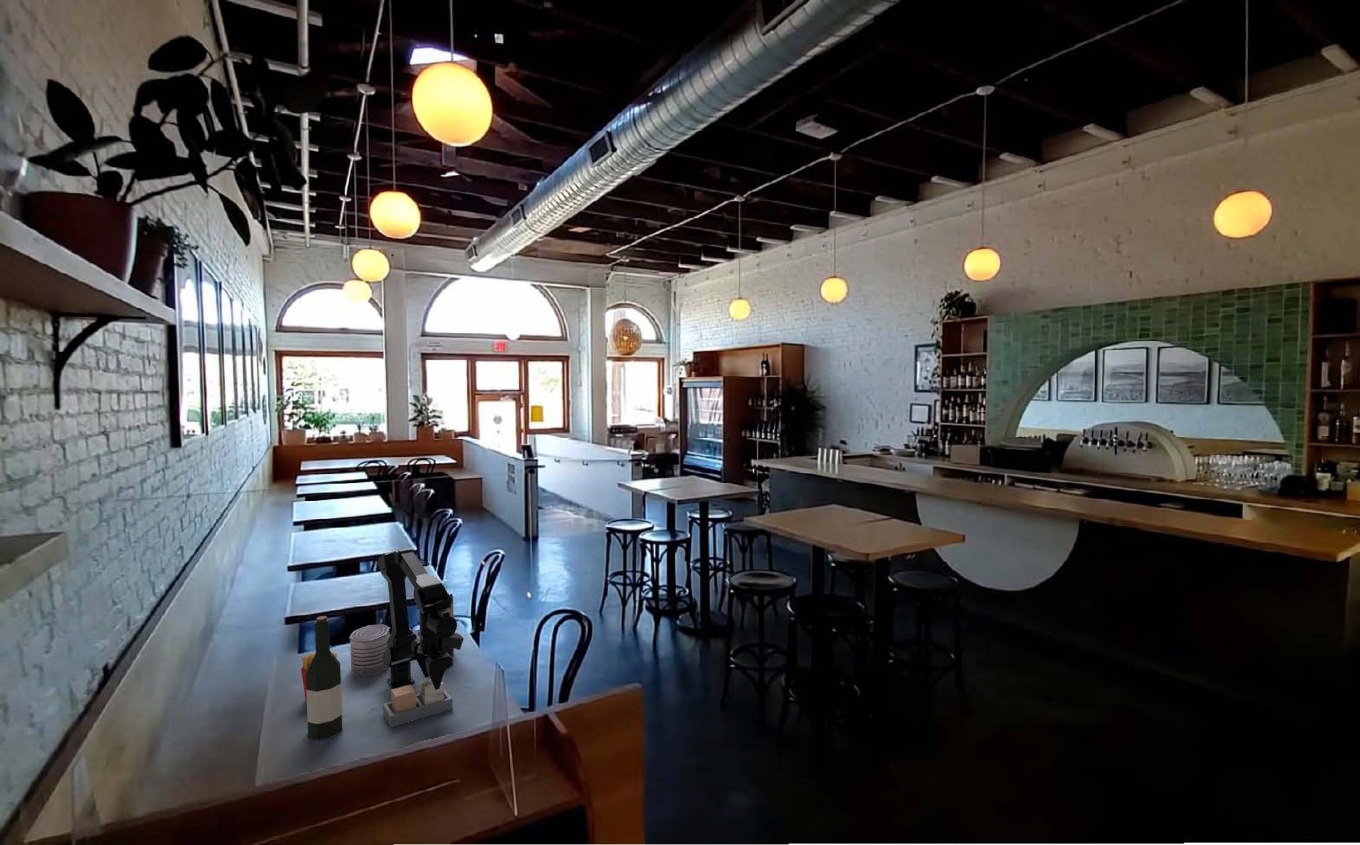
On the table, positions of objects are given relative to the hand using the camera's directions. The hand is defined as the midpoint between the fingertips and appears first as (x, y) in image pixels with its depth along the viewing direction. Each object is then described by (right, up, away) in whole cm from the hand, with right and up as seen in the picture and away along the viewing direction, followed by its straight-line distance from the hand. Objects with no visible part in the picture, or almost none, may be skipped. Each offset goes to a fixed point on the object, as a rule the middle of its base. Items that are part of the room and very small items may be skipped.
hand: (432, 683), depth 180 cm
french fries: (-34, -7, +6) cm, 35 cm away
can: (-29, -6, +26) cm, 40 cm away
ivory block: (0, -6, 0) cm, 6 cm away
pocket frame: (-3, -7, -2) cm, 8 cm away
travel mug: (-10, -5, +36) cm, 37 cm away
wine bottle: (-23, -8, -12) cm, 27 cm away
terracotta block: (-6, -6, -4) cm, 10 cm away
